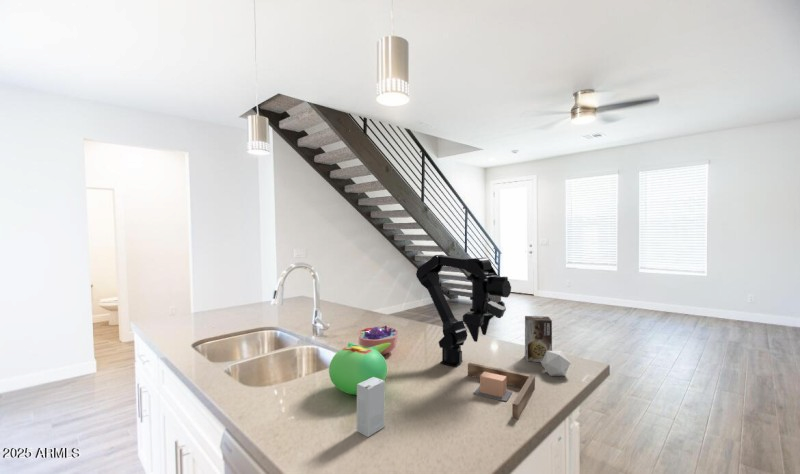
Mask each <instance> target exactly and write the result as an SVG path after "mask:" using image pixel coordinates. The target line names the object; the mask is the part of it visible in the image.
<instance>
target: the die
mask: <svg viewBox="0 0 800 474" xmlns="http://www.w3.org/2000/svg"><path fill="white" fill-rule="evenodd" d="M540 364H541V366H543V368H544V370H545V371H546V372H547V374H548V375H549V376H550V377H553V376H554V377H563V376H566V374H567V372H568V369H570V368H569V367H570V365H571V361H570V360H569V359H568V358H567V356H566V355H565V353H563V351H562V350H552V351H546V353H545V356H544V358H543V360H542V362H540Z"/></svg>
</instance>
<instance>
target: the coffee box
mask: <svg viewBox="0 0 800 474" xmlns="http://www.w3.org/2000/svg"><path fill="white" fill-rule="evenodd" d="M546 351H553V320H552V319H551V318H550V317H549V316H544V315H543V316H542V315H541V316H539V315H537V316H536V315H533V316H532V315H525V316H524V357H525V359H526V362H533V363H534V362H537V363H541V362H542V360H543V358H544V356H545V353H546Z"/></svg>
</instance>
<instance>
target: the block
mask: <svg viewBox="0 0 800 474" xmlns="http://www.w3.org/2000/svg"><path fill="white" fill-rule="evenodd" d="M506 381H507V376H503V375H498V374H493V373H488V372H483V373H482V374H481V375H480V378H479V386H480V392H481V393H485V394H489V395H494V396H498V397H502V398H503V397H504V395H505V394H506V390H507V384H506Z"/></svg>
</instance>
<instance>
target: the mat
mask: <svg viewBox="0 0 800 474" xmlns="http://www.w3.org/2000/svg"><path fill="white" fill-rule="evenodd" d="M513 394H514V393H513V391H511V390H507V389H506V394H505V395H504V397H503V398H502V397H498V396H494V395H489V394H485V393H481V392H480V385H479V386H478V387H477V389H476V390H475V391H474V392H473V395H477V396H481V397H485V398H489V399H493V400H498V401H501V402H505V403H507V402H508V401H509V399H510V398H511V396H512V395H513Z"/></svg>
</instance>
